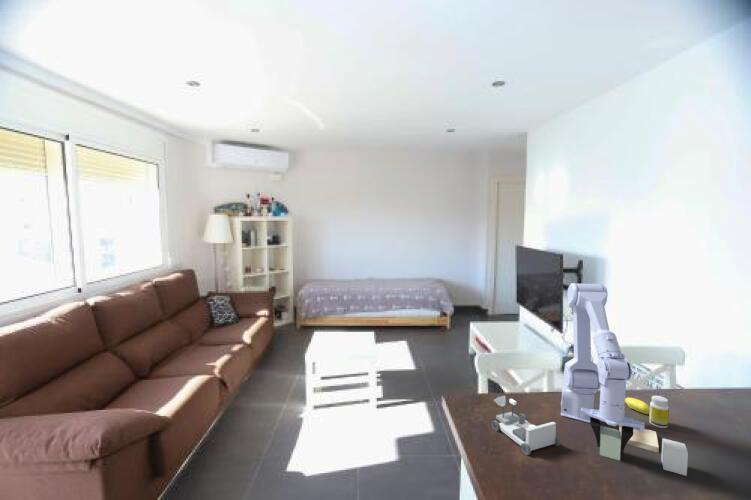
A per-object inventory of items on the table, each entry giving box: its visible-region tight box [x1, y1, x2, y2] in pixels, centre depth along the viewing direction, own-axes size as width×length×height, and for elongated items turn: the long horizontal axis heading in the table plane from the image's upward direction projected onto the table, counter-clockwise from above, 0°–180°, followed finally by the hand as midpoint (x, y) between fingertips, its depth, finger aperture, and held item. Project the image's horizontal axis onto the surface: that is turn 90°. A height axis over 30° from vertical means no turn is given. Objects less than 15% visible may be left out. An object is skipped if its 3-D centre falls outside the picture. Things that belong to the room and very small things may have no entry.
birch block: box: [618, 425, 660, 453], centre depth 107 cm, size 9×9×2 cm
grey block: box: [661, 438, 689, 477], centre depth 94 cm, size 5×5×6 cm
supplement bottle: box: [648, 395, 670, 429], centre depth 114 cm, size 5×5×8 cm
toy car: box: [491, 393, 561, 456], centre depth 109 cm, size 18×10×12 cm
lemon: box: [625, 397, 650, 415], centre depth 123 cm, size 4×8×4 cm, turn 21°
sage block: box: [599, 425, 621, 462], centre depth 100 cm, size 5×5×6 cm
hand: (609, 448), depth 100 cm, fingers closed on sage block, 5 cm apart
